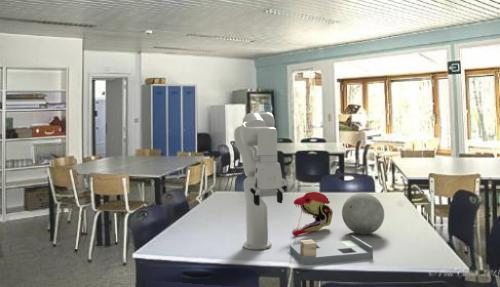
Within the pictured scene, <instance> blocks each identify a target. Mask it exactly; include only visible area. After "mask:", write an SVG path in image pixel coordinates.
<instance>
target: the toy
mask: <svg viewBox="0 0 500 287" xmlns="http://www.w3.org/2000/svg"><path fill="white" fill-rule="evenodd" d="M330 202H331V201H330V200H329V198H328V197H327V196H326V195H325V194H324V193H322V192H319V191H310V192H306V193H305V194H304V195H303V196H300V197H297V198H296V199H294V200H293V205H295V207H296V208H297V207H298V208H300V209H301V213H302V214H305V215H308V216H312V218H313V219H314V221H312V222H309V223H305V224H304V226H302V227H300V228H299V227H296V228H293V230H292V232H291V234H292V236H293V237H297V236H300V235H302V234H308V233H314V232H317V231H319V230H321V229H322V228H323V227H329V226H330V225H331V223H332V218H333V212H334V211H333V209H332V208H331V206H329V204H330Z"/></svg>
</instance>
